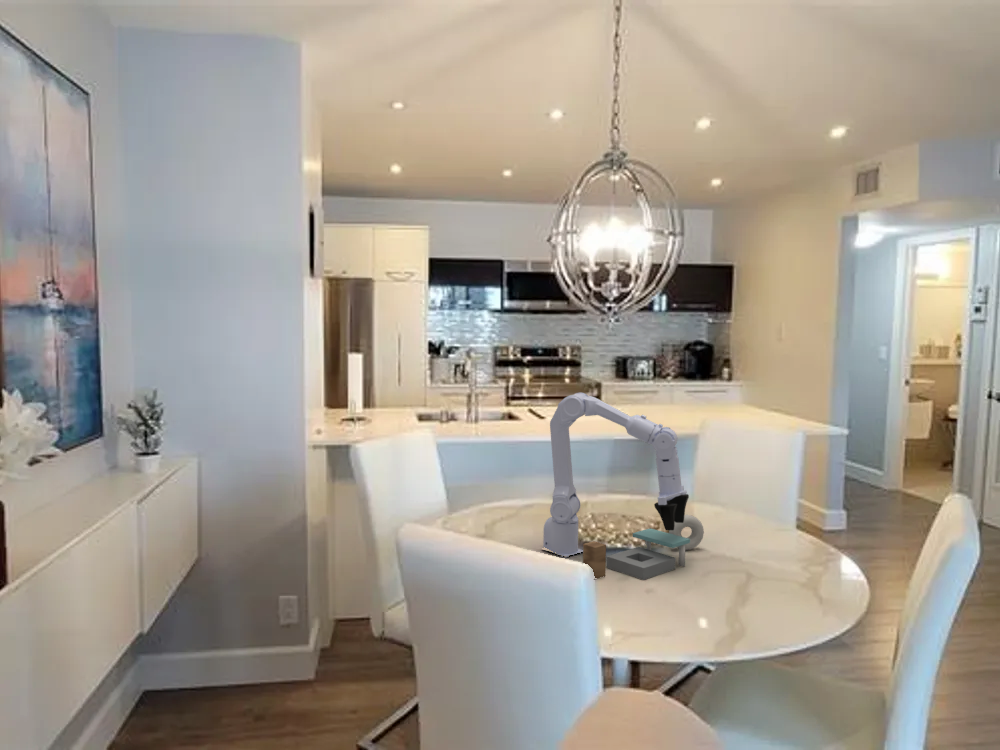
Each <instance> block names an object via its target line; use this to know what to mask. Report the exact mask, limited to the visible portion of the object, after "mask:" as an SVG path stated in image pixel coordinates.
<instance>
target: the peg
mask: <svg viewBox="0 0 1000 750" xmlns="http://www.w3.org/2000/svg"><path fill="white" fill-rule="evenodd" d="M582 550H583V553H582V564H583V563H585V564H588V565H589V566H590V567H591V568H592V569H593V572H594V576H595V578H597V579H600V577H601V578H603V576H604V577H606V571H607V570H606V569H607V568H606V566H607V555H606V554H607V544H605V543H603V542H598V541H595V540H593V541H590V542H585V543H583V544H582ZM597 579H596V580H597Z"/></svg>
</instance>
